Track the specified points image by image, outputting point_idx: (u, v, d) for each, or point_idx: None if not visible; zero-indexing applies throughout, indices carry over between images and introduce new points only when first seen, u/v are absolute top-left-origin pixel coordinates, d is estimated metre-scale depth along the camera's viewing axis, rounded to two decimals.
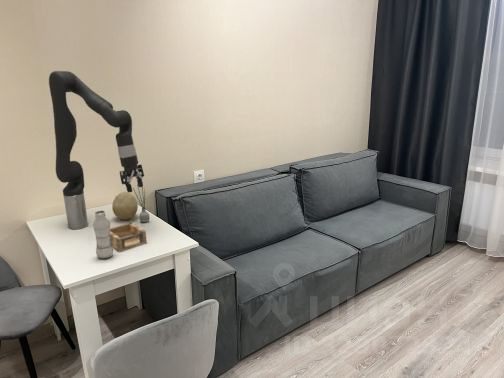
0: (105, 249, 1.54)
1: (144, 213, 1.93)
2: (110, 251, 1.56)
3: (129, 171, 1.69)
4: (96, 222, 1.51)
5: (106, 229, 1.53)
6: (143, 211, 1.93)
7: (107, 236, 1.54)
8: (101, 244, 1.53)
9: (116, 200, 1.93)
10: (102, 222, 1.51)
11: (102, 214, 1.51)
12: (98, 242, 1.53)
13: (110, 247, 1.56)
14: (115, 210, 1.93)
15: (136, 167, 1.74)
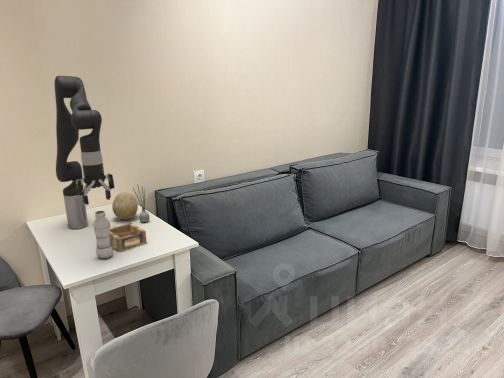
0: (105, 249, 1.54)
1: (144, 213, 1.93)
2: (110, 251, 1.56)
3: (88, 181, 1.45)
4: (96, 222, 1.51)
5: (106, 229, 1.53)
6: (143, 211, 1.93)
7: (107, 236, 1.54)
8: (101, 244, 1.53)
9: (116, 200, 1.93)
10: (102, 222, 1.51)
11: (102, 214, 1.51)
12: (98, 242, 1.53)
13: (110, 247, 1.56)
14: (115, 210, 1.93)
15: (102, 177, 1.49)
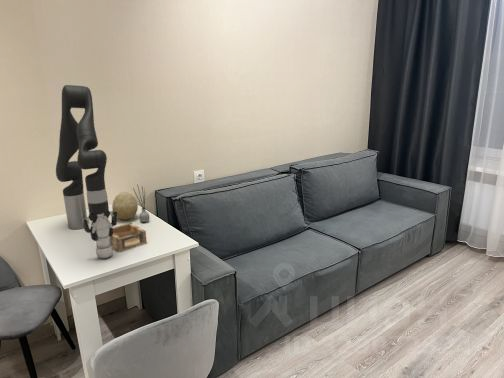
0: (105, 249, 1.54)
1: (144, 213, 1.93)
2: (110, 251, 1.56)
3: (93, 219, 1.50)
4: None
5: (106, 229, 1.52)
6: (143, 211, 1.93)
7: (107, 236, 1.54)
8: (101, 244, 1.53)
9: (116, 200, 1.93)
10: (101, 222, 1.51)
11: (101, 214, 1.51)
12: (98, 242, 1.53)
13: (110, 247, 1.56)
14: (115, 210, 1.93)
15: (107, 213, 1.53)
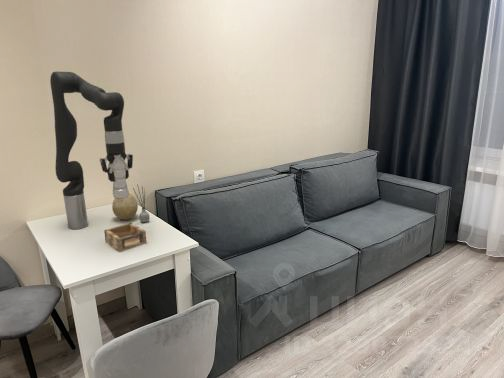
0: (121, 190, 1.61)
1: (144, 213, 1.93)
2: (126, 192, 1.63)
3: (111, 159, 1.57)
4: None
5: (123, 170, 1.60)
6: (143, 211, 1.93)
7: (123, 177, 1.61)
8: (118, 185, 1.61)
9: (116, 200, 1.93)
10: (118, 163, 1.58)
11: (118, 155, 1.58)
12: (115, 183, 1.61)
13: (126, 188, 1.63)
14: (115, 210, 1.93)
15: (123, 155, 1.61)
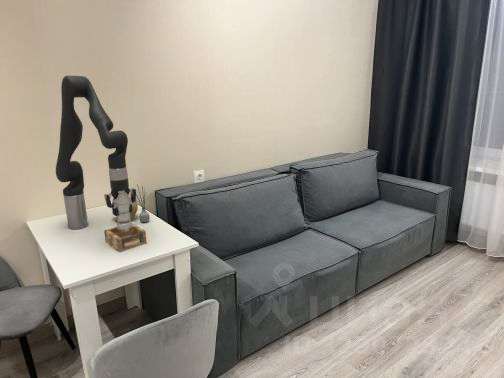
0: (125, 224, 1.66)
1: (144, 213, 1.93)
2: (130, 226, 1.67)
3: (115, 195, 1.62)
4: None
5: (127, 205, 1.64)
6: (143, 211, 1.93)
7: (127, 212, 1.65)
8: (122, 219, 1.65)
9: None
10: (122, 198, 1.63)
11: (122, 191, 1.63)
12: (119, 217, 1.65)
13: (130, 222, 1.68)
14: None
15: (127, 190, 1.65)
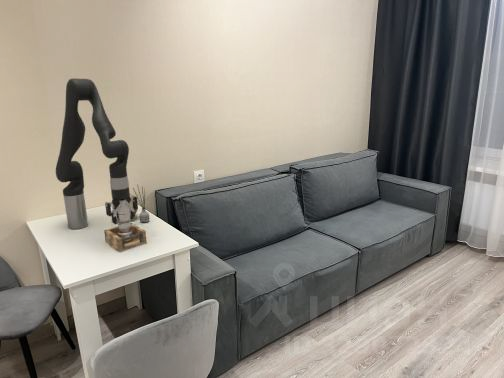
0: (126, 233, 1.67)
1: (144, 213, 1.93)
2: (130, 235, 1.69)
3: (116, 203, 1.63)
4: None
5: (128, 215, 1.66)
6: (143, 211, 1.93)
7: (128, 221, 1.67)
8: (123, 229, 1.66)
9: None
10: (123, 208, 1.64)
11: (124, 201, 1.64)
12: (120, 227, 1.66)
13: (130, 231, 1.69)
14: None
15: (128, 199, 1.66)
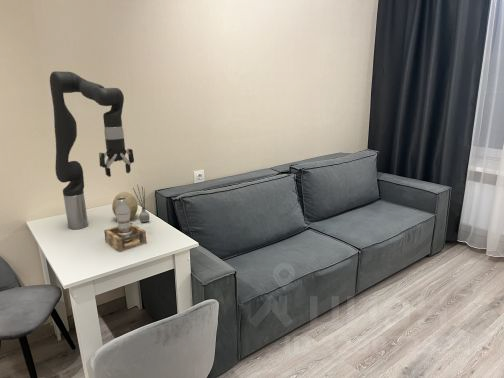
0: (126, 233, 1.67)
1: (144, 213, 1.93)
2: (130, 235, 1.69)
3: (110, 154, 1.57)
4: (118, 208, 1.64)
5: (127, 215, 1.66)
6: (143, 211, 1.93)
7: (128, 221, 1.67)
8: (123, 229, 1.66)
9: (116, 200, 1.93)
10: (123, 208, 1.64)
11: (123, 201, 1.64)
12: (120, 227, 1.66)
13: (130, 231, 1.69)
14: None
15: (123, 151, 1.60)
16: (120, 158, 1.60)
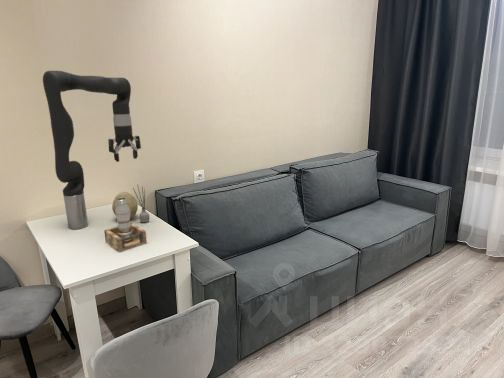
0: (126, 233, 1.67)
1: (144, 213, 1.93)
2: (130, 235, 1.69)
3: (119, 140, 1.66)
4: (118, 208, 1.64)
5: (127, 215, 1.66)
6: (143, 211, 1.93)
7: (128, 221, 1.67)
8: (123, 229, 1.66)
9: (116, 200, 1.93)
10: (123, 208, 1.64)
11: (123, 201, 1.64)
12: (120, 227, 1.66)
13: (130, 231, 1.69)
14: None
15: (130, 138, 1.70)
16: (128, 144, 1.69)
